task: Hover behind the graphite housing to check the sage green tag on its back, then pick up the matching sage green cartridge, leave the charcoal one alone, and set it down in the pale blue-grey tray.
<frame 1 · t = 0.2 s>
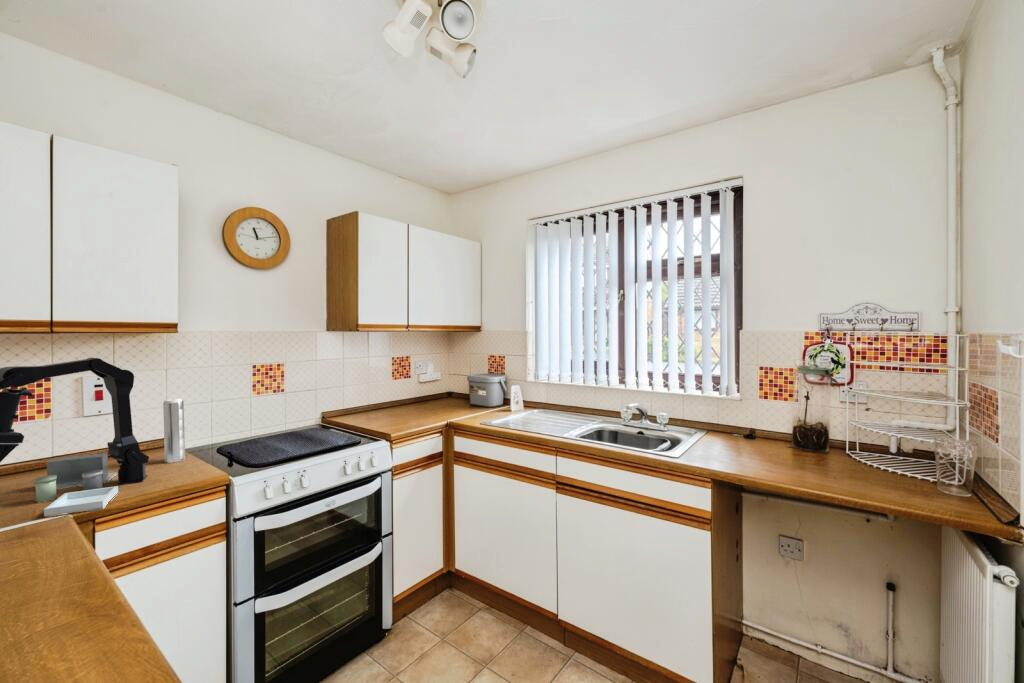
charcoal cartridge: (93, 493, 141), on the worktop
tray: (83, 505, 132), on the worktop
housing: (79, 482, 151), on the worktop
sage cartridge: (46, 499, 136), on the worktop
silver metal cylinder: (175, 460, 176), on the worktop
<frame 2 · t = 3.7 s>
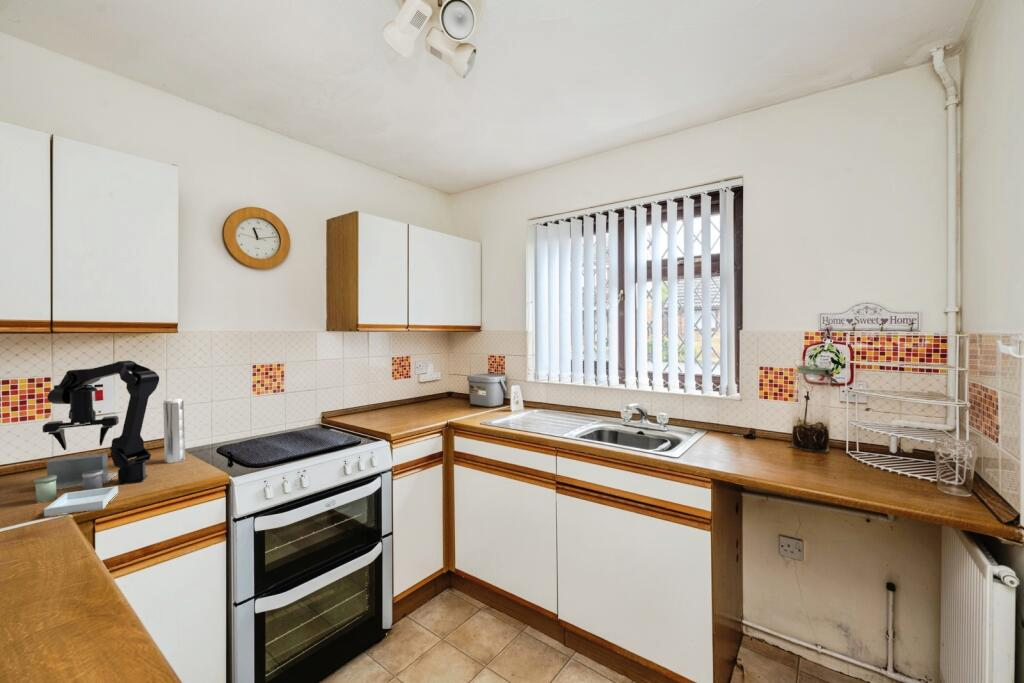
hand: (83, 447, 155), 11 cm above the worktop, tool pointing down, fingers open, 9 cm apart
nothing on the worktop moved.
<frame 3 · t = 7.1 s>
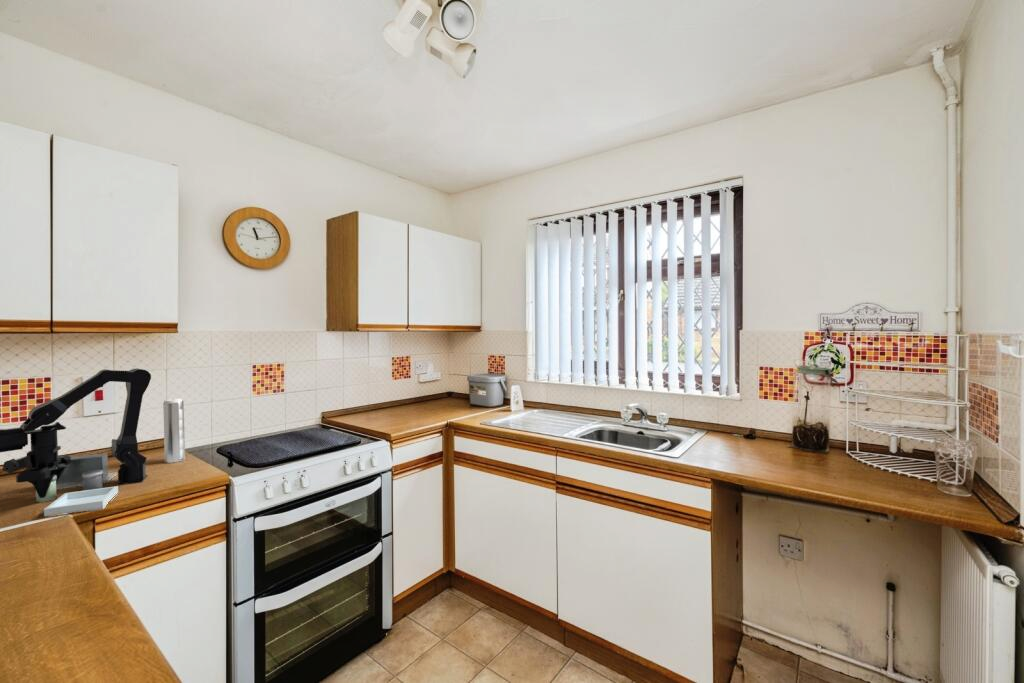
hand: (46, 494, 136), 2 cm above the worktop, tool pointing down, fingers closed on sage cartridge, 4 cm apart
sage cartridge: (46, 499, 136), on the worktop, touching gripper
everything else where it was.
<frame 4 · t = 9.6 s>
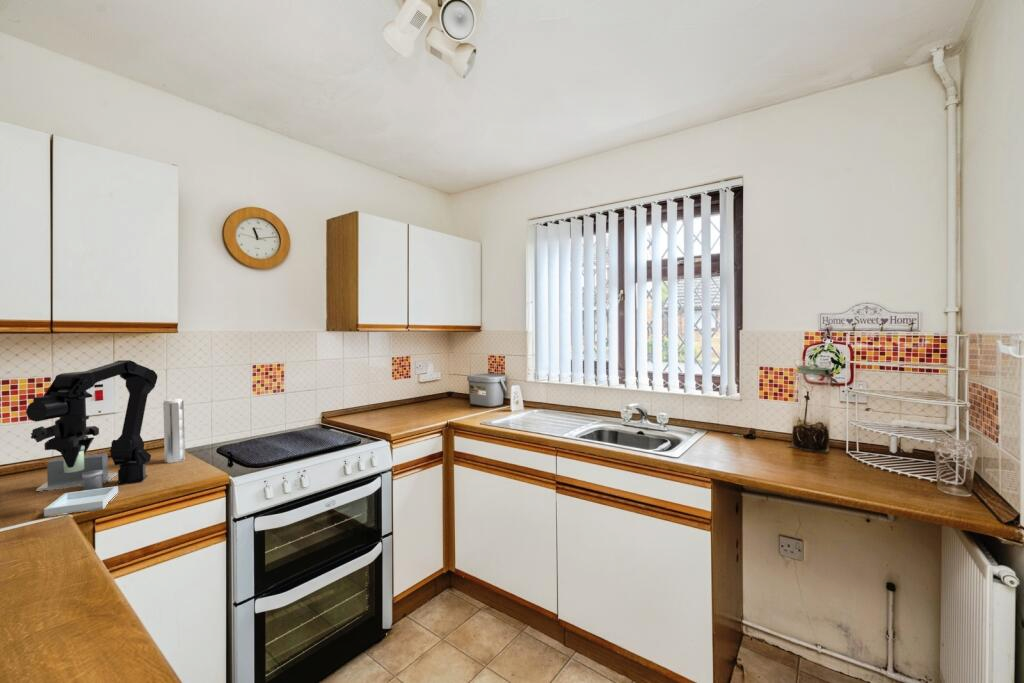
hand: (74, 465, 132), 12 cm above the worktop, tool pointing down, fingers closed on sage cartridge, 4 cm apart
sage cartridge: (74, 470, 132), point 11 cm above the worktop, touching gripper
everything else where it was.
when the fingers open (3 cm above the worktop, at t = 12.2 s): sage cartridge drops 1 cm, resting on tray.
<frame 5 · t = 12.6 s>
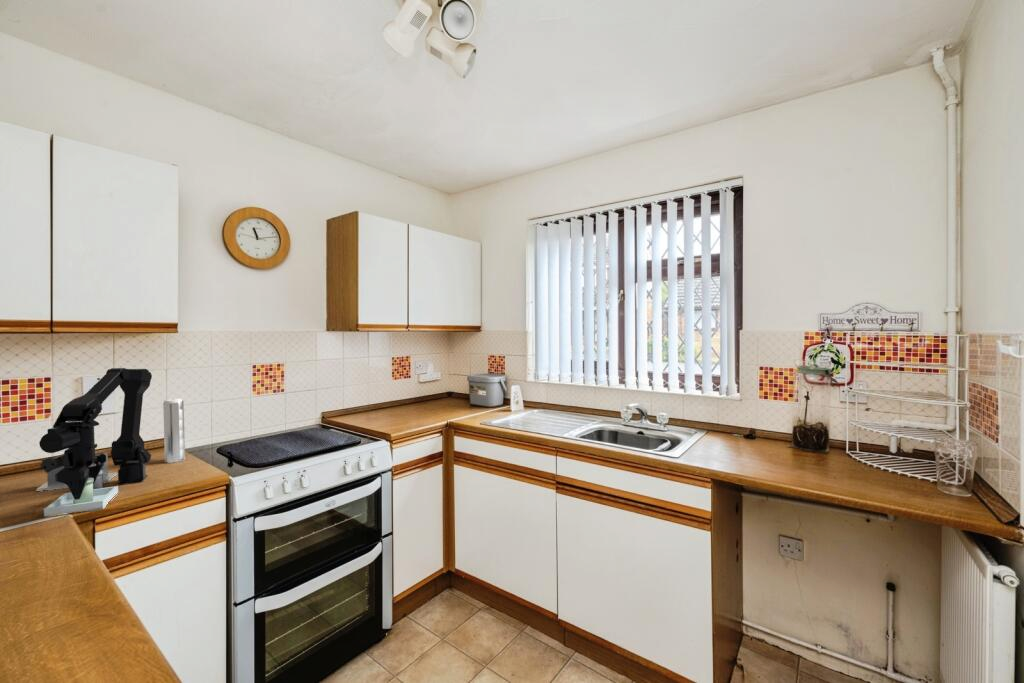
hand: (83, 494, 132), 3 cm above the worktop, tool pointing down, fingers open, 8 cm apart
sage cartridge: (83, 503, 132), point 1 cm above the worktop, touching tray
everything else where it was.
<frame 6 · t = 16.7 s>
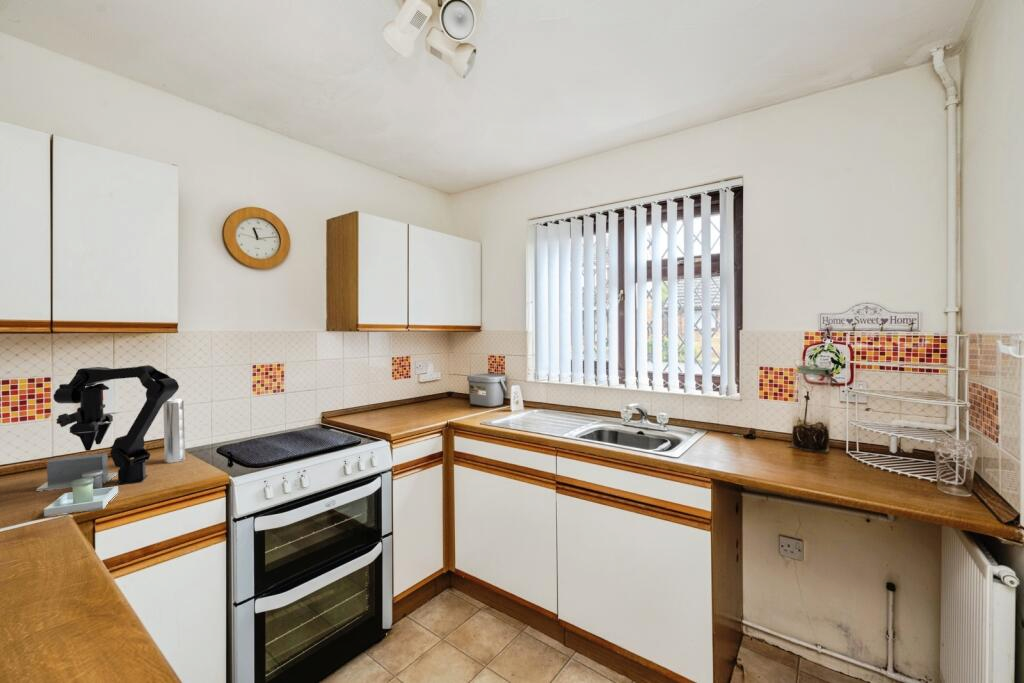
hand: (93, 447, 152), 12 cm above the worktop, tool pointing down, fingers open, 9 cm apart
nothing on the worktop moved.
at the end: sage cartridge inside the target area on the tray (0.1 cm from its centre), point 0.6 cm above the tray's base; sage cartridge tilted 0°; charcoal cartridge moved 0.0 cm from its start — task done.
